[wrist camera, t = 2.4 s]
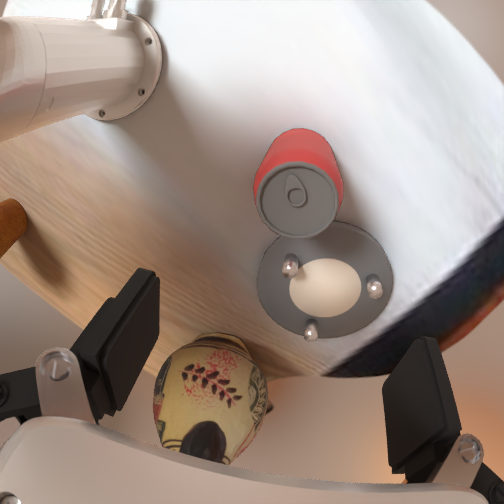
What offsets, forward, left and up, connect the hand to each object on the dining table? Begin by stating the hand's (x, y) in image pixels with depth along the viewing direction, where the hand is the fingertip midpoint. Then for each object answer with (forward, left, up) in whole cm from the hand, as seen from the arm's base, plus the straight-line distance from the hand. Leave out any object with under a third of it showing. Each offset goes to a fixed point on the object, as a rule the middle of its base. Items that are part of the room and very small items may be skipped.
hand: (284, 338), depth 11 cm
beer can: (0, 0, -24) cm, 24 cm away
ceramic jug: (+30, -3, -24) cm, 39 cm away
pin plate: (+13, +6, -24) cm, 28 cm away
